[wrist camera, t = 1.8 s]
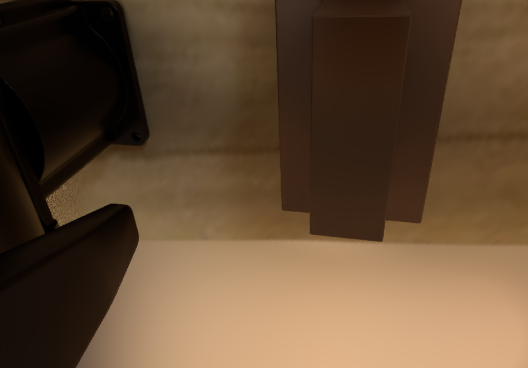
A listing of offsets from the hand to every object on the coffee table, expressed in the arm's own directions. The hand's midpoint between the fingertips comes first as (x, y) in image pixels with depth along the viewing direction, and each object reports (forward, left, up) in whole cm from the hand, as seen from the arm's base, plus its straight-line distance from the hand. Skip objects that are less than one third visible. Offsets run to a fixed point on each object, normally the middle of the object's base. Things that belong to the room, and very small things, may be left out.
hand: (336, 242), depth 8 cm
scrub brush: (0, 0, -10) cm, 10 cm away
